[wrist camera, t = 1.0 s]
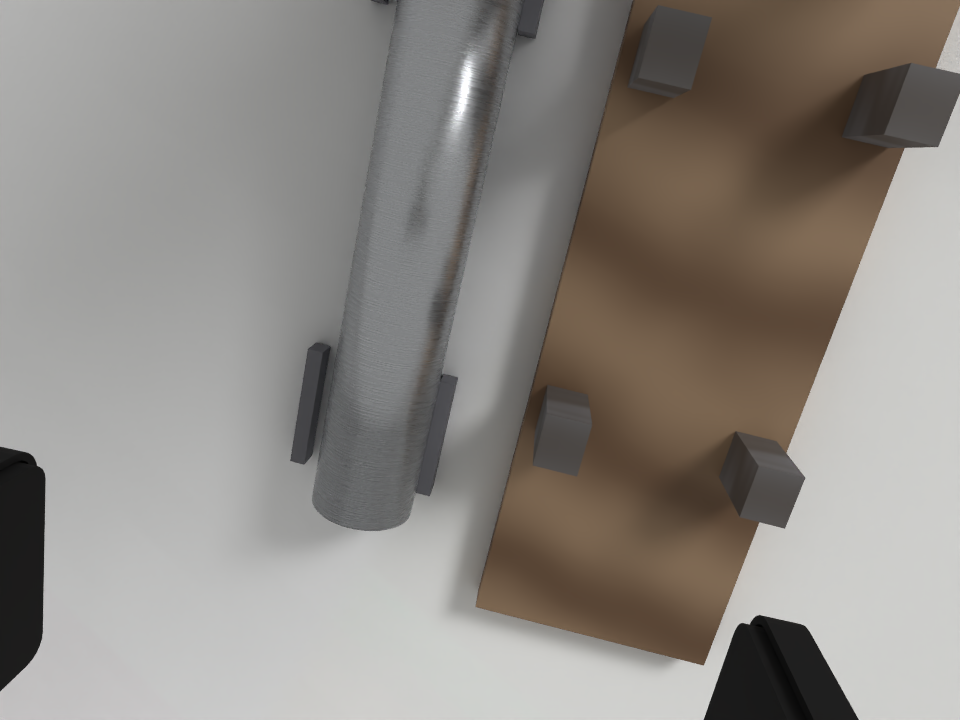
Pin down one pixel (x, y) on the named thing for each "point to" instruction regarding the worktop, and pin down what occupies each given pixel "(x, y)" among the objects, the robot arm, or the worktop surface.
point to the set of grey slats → (446, 390)
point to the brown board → (704, 302)
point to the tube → (411, 252)
